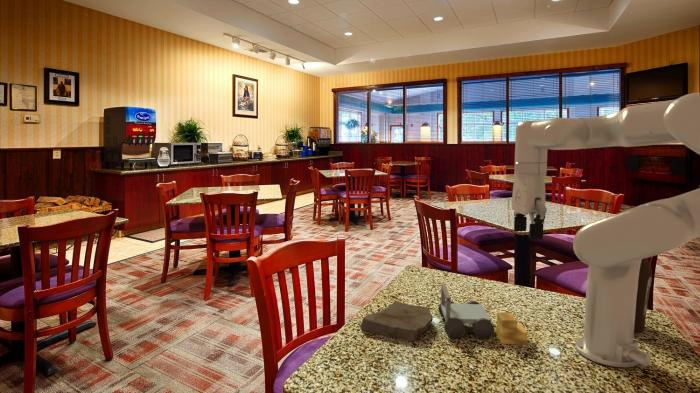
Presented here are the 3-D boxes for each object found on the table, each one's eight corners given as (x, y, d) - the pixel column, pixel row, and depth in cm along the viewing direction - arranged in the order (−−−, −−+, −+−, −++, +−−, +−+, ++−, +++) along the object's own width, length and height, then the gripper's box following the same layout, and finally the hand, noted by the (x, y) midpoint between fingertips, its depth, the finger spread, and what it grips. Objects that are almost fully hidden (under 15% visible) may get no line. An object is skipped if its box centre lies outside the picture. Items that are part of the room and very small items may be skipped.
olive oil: (602, 330, 104) (609, 235, 101) (596, 314, 114) (601, 227, 111) (652, 337, 100) (660, 239, 97) (641, 320, 109) (648, 230, 106)
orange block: (520, 335, 102) (521, 313, 101) (526, 344, 97) (528, 320, 96) (496, 335, 102) (497, 312, 101) (501, 343, 98) (502, 320, 97)
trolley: (481, 318, 112) (482, 283, 111) (493, 339, 100) (495, 300, 98) (438, 317, 113) (438, 282, 112) (444, 338, 101) (445, 299, 99)
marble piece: (359, 331, 106) (359, 316, 105) (383, 311, 118) (383, 298, 118) (420, 346, 97) (420, 329, 97) (438, 323, 110) (438, 308, 110)
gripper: (503, 168, 112) (501, 228, 114) (529, 171, 94) (527, 243, 96) (530, 167, 111) (527, 228, 113) (562, 171, 94) (558, 242, 96)
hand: (527, 235), depth 105 cm, fingers open, 9 cm apart
